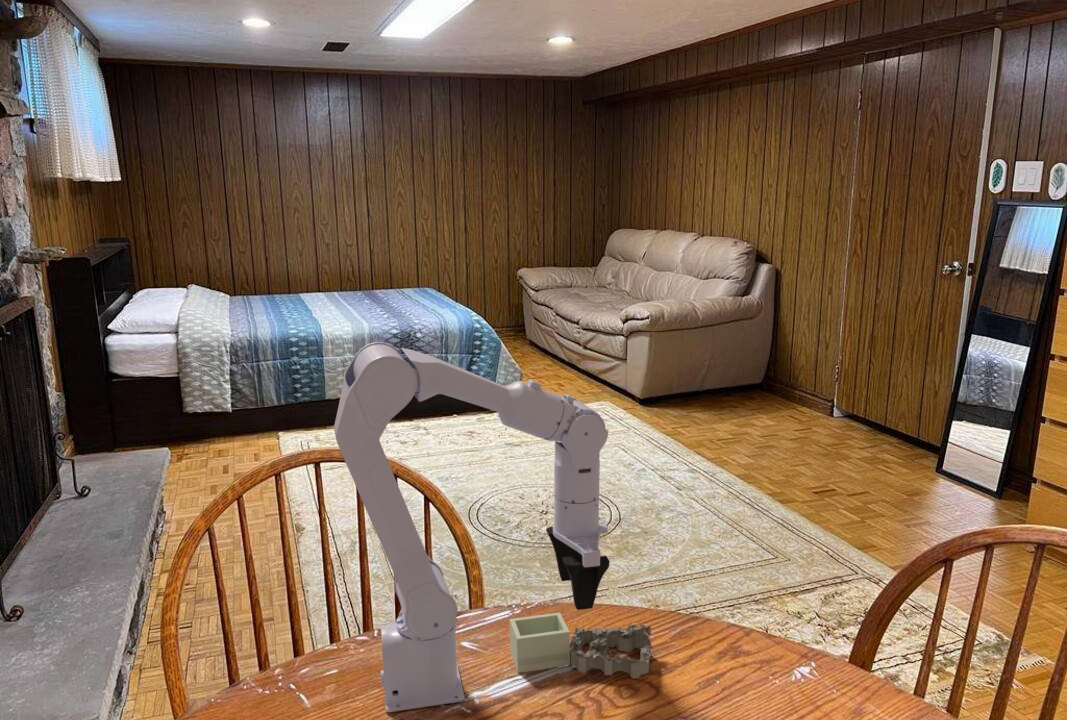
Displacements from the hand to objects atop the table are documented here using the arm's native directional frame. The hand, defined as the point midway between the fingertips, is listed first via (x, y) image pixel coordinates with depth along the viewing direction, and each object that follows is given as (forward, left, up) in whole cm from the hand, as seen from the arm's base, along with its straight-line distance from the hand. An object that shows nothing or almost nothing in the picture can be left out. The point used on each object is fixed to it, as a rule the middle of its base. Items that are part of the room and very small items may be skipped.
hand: (576, 593), depth 104 cm
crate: (-5, +1, -10) cm, 11 cm away
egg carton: (+4, -2, -10) cm, 11 cm away
